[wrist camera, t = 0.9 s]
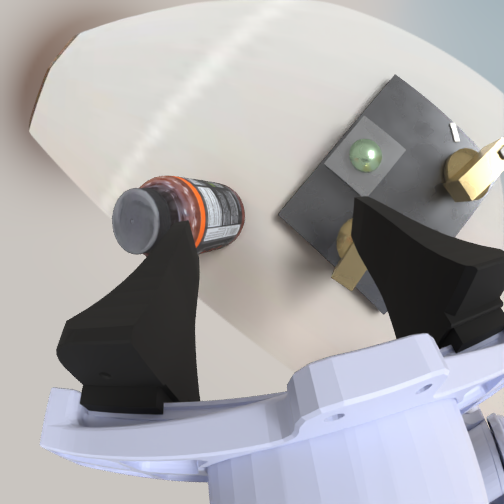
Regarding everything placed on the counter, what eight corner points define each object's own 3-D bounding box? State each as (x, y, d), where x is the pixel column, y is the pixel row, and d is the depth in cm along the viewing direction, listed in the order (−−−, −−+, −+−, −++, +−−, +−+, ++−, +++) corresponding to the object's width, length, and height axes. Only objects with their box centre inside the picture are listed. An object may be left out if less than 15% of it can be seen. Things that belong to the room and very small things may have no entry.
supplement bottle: (192, 248, 28) (104, 269, 17) (188, 187, 27) (98, 180, 17) (249, 247, 26) (174, 272, 15) (245, 180, 25) (167, 162, 15)
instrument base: (495, 174, 17) (510, 170, 14) (382, 310, 22) (385, 323, 19) (394, 79, 19) (397, 63, 16) (281, 214, 24) (270, 214, 22)
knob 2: (458, 215, 18) (483, 217, 13) (429, 173, 18) (448, 163, 14) (496, 178, 16) (526, 171, 11) (469, 137, 16) (493, 121, 12)
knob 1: (365, 283, 21) (367, 303, 17) (323, 255, 22) (314, 268, 18) (400, 227, 20) (413, 232, 15) (358, 199, 21) (359, 195, 16)
